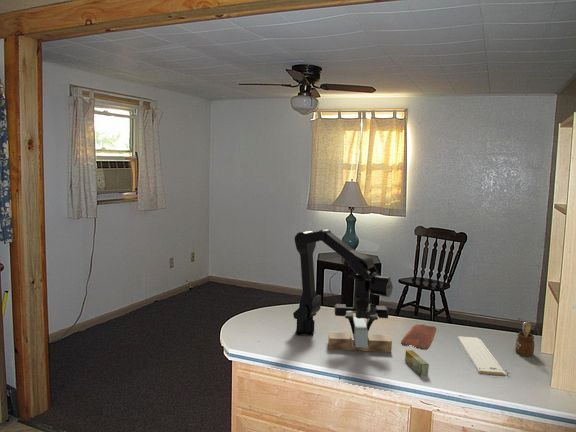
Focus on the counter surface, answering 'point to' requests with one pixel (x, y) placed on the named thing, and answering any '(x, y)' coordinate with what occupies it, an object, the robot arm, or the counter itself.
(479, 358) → the baseboard
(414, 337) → the wooden tablet
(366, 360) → the counter surface
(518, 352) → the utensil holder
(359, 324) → the pale blue block
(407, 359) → the medication box
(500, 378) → the counter surface
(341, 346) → the notched beam
